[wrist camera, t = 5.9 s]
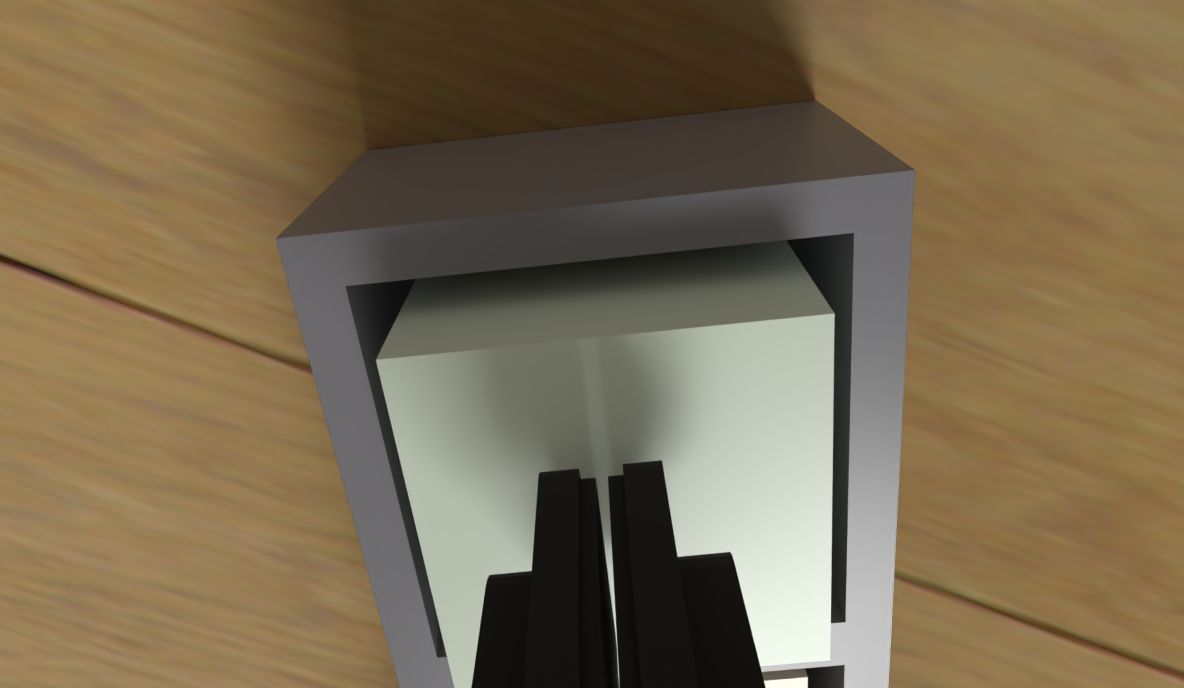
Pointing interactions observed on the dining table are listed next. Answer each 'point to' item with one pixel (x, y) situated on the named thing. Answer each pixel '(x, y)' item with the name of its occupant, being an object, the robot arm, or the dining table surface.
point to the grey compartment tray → (602, 231)
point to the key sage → (623, 421)
